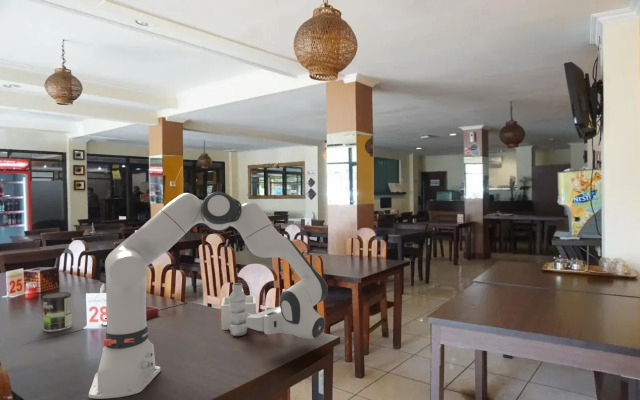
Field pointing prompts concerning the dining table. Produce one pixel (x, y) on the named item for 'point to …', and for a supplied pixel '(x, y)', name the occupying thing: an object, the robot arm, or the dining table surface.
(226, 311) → the bin
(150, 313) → the hardcover book
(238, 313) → the plastic bottle
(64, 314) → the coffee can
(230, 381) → the dining table surface
